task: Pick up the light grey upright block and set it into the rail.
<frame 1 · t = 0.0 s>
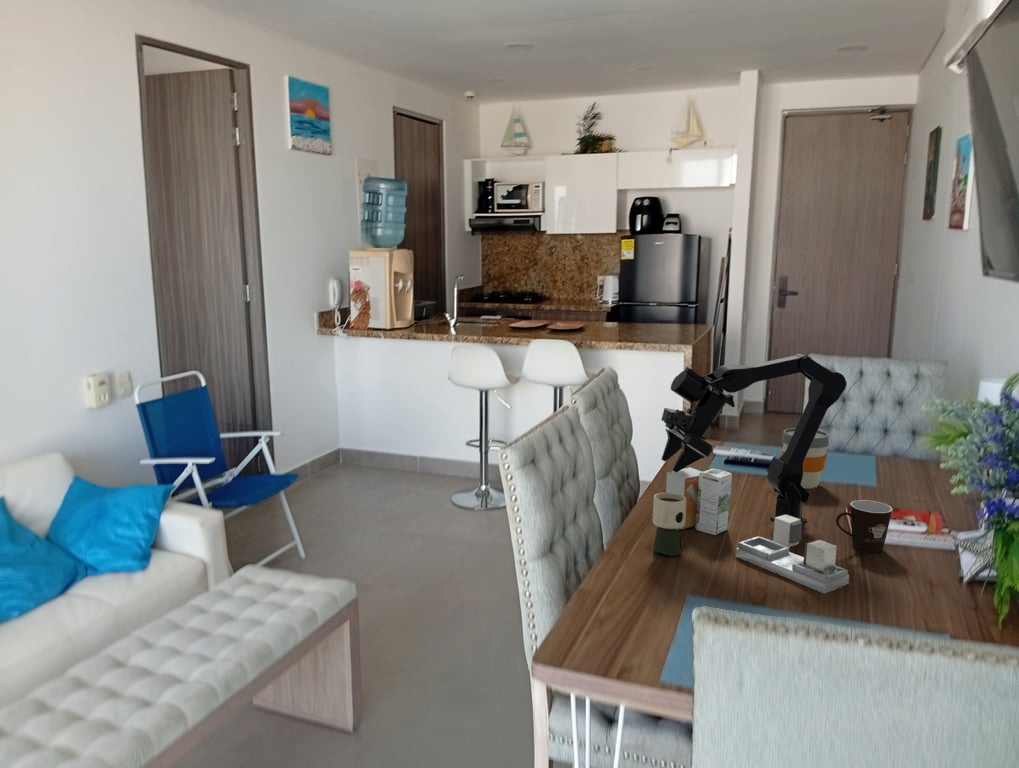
hand: (668, 465, 189), 15 cm above the table, tool tilted 35°, fingers open, 9 cm apart
rail: (789, 569, 165), on the table
syrup box: (712, 530, 188), on the table
small box: (684, 523, 192), on the table
character mug: (667, 553, 174), on the table
light grey upright block: (785, 543, 180), on the table
coffee mug: (860, 548, 178), on the table
reusable coffee cup: (801, 484, 224), on the table
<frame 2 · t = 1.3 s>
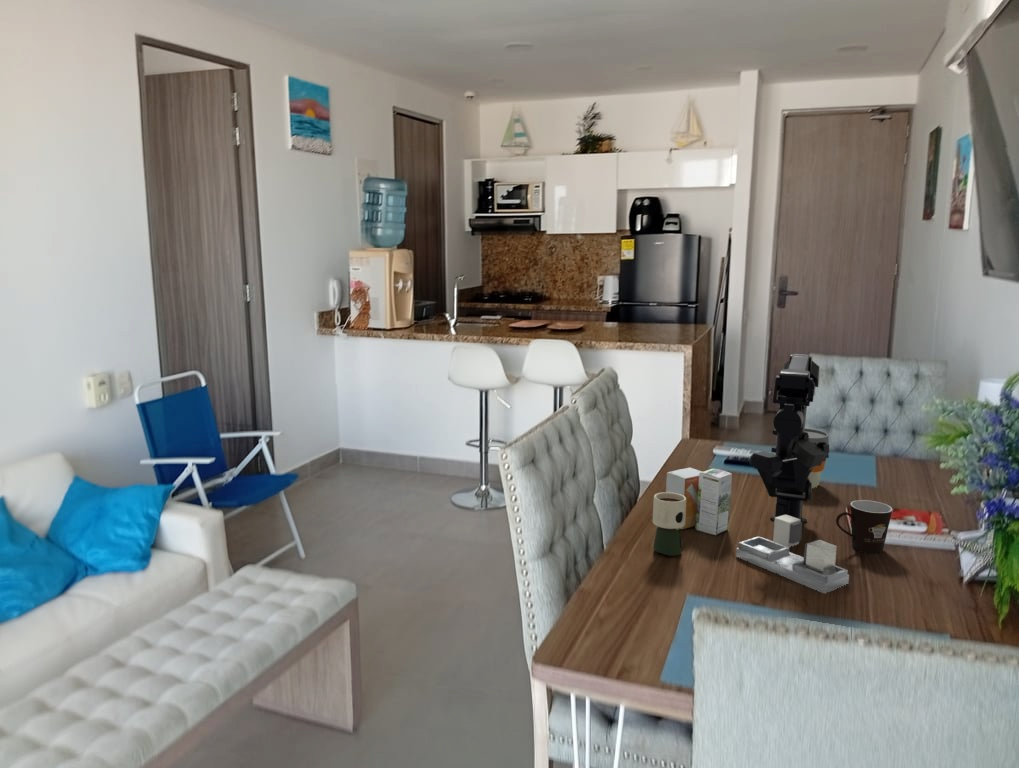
hand: (785, 493, 178), 12 cm above the table, tool pointing down, fingers open, 9 cm apart
nothing on the table moved.
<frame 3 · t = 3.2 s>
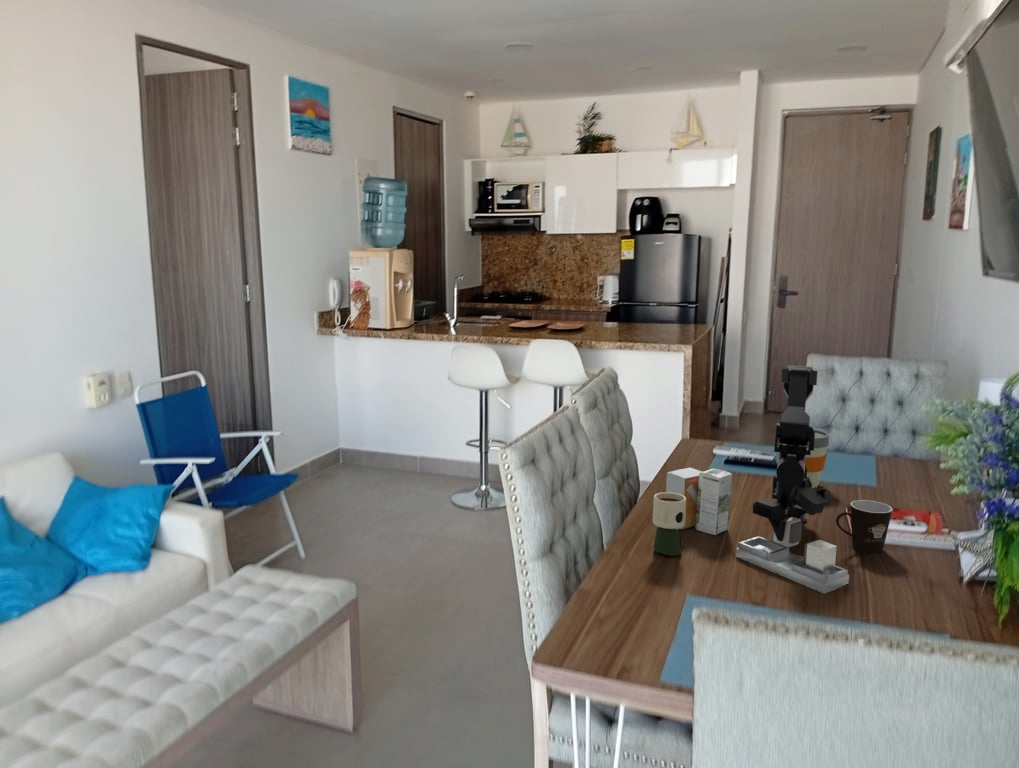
hand: (786, 538, 180), 1 cm above the table, tool pointing down, fingers closed on light grey upright block, 4 cm apart
light grey upright block: (785, 543, 180), on the table, touching gripper
everything else where it was.
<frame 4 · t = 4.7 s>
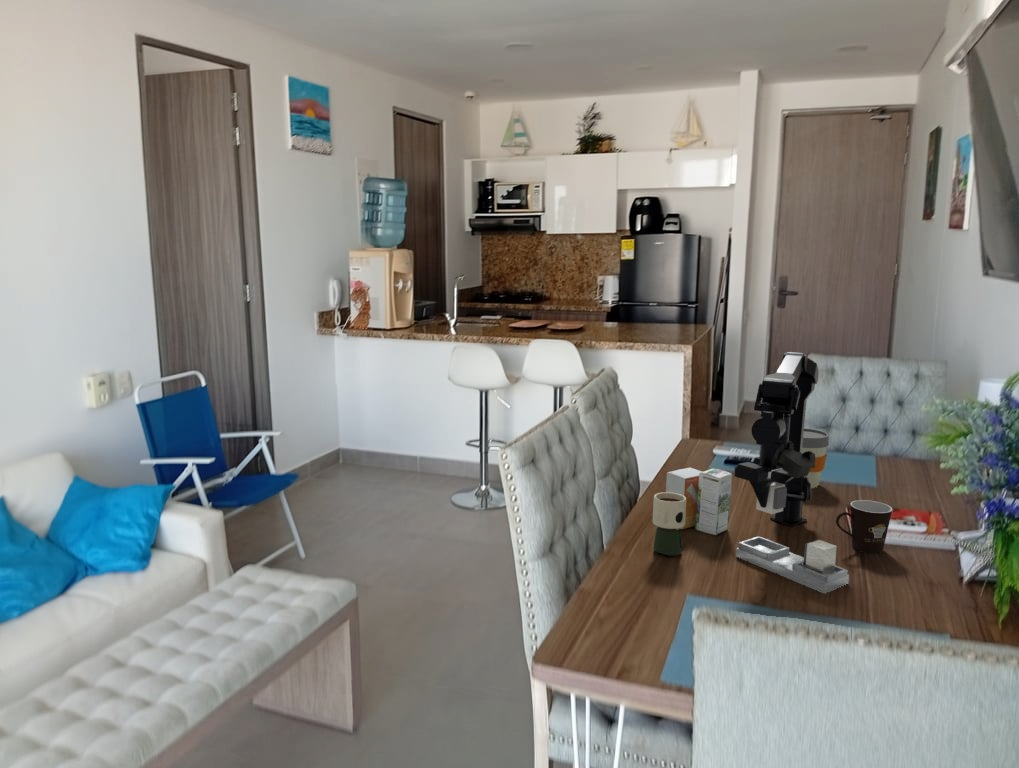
hand: (769, 505, 170), 12 cm above the table, tool pointing down, fingers closed on light grey upright block, 4 cm apart
light grey upright block: (769, 510, 170), point 11 cm above the table, touching gripper
everything else where it was.
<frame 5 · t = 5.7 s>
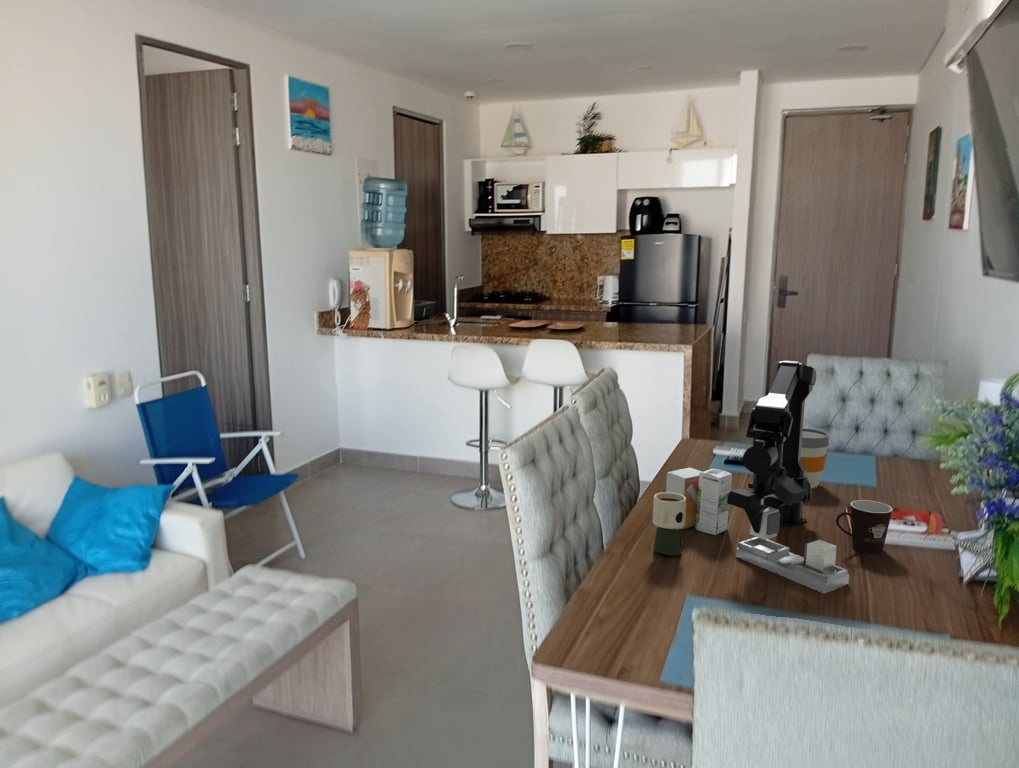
hand: (763, 530, 170), 6 cm above the table, tool pointing down, fingers closed on light grey upright block, 4 cm apart
light grey upright block: (763, 535, 170), point 5 cm above the table, touching gripper
everything else where it was.
when the fingers open (4 cm above the table, at t = 6.4 s): light grey upright block drops 1 cm, resting on rail.
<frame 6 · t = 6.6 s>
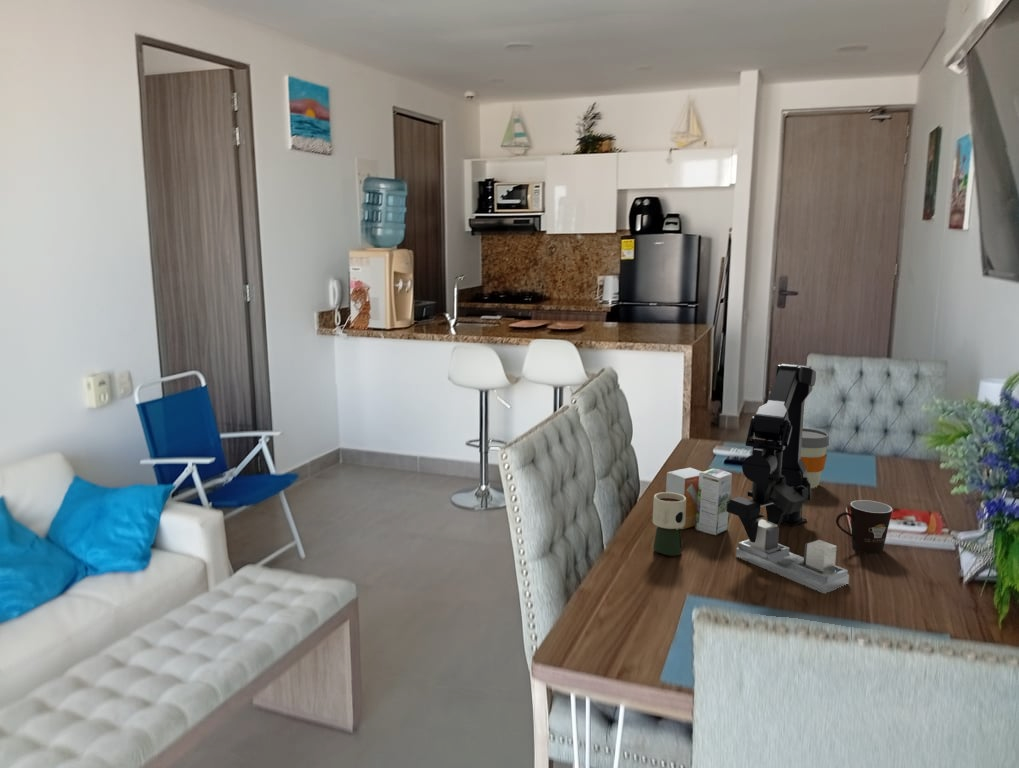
hand: (762, 538, 170), 4 cm above the table, tool pointing down, fingers open, 6 cm apart
light grey upright block: (762, 549, 171), point 2 cm above the table, touching rail
everything else where it was.
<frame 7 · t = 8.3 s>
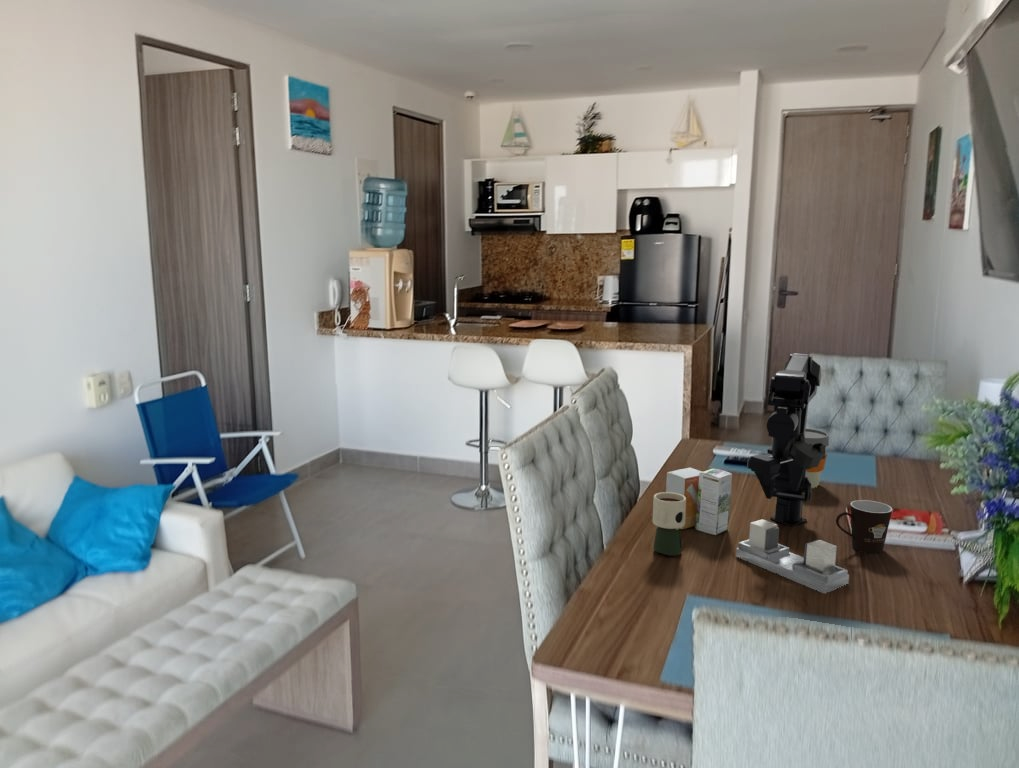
hand: (781, 494, 178), 12 cm above the table, tool pointing down, fingers open, 9 cm apart
nothing on the table moved.
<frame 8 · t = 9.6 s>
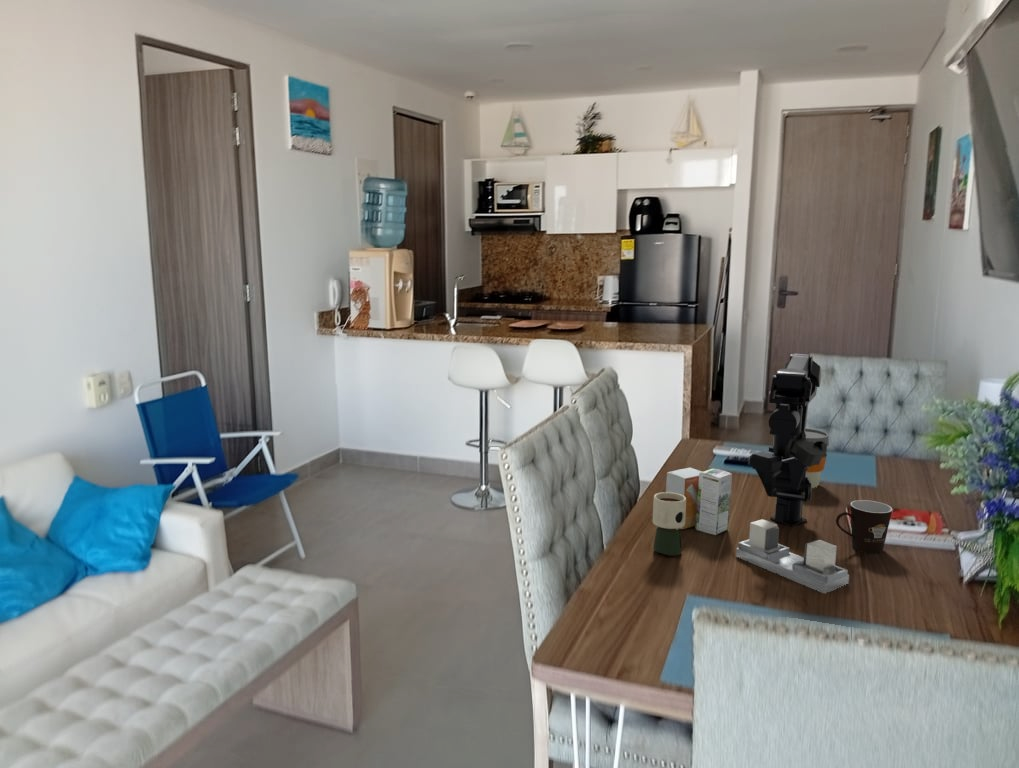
hand: (783, 492, 178), 12 cm above the table, tool pointing down, fingers open, 9 cm apart
nothing on the table moved.
at the end: light grey upright block 0.2 cm from the target spot on the rail, point 2.0 cm above the rail's base; light grey upright block tilted 0°; the gripper is holding nothing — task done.
